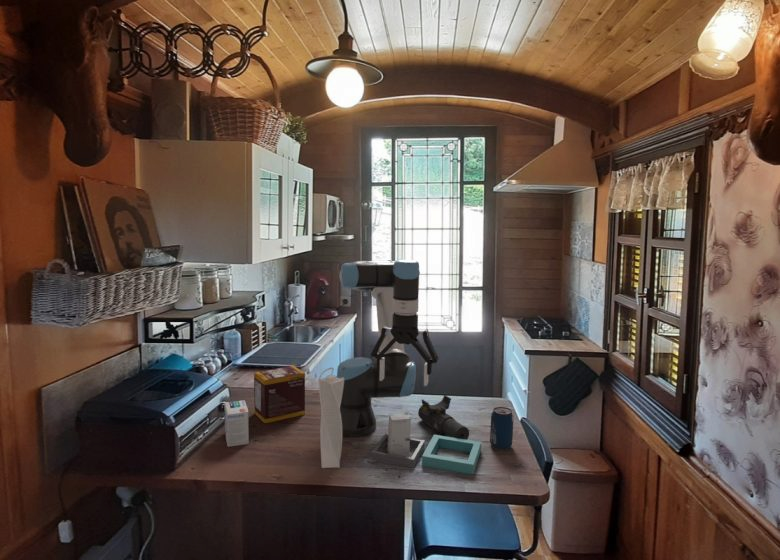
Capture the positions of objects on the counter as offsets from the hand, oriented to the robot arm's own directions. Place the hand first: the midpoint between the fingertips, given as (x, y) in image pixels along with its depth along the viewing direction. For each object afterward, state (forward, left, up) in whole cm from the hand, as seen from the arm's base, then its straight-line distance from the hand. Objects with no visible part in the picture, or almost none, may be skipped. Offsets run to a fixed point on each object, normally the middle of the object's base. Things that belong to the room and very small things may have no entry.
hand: (403, 382), depth 156 cm
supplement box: (-50, +13, -23) cm, 56 cm away
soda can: (+28, +15, -23) cm, 39 cm away
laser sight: (+8, +20, -23) cm, 32 cm away
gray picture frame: (-1, -1, -23) cm, 23 cm away
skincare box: (-1, -1, -23) cm, 23 cm away
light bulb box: (-53, -9, -23) cm, 58 cm away
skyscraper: (-18, -13, -23) cm, 32 cm away
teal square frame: (+15, +2, -23) cm, 27 cm away
